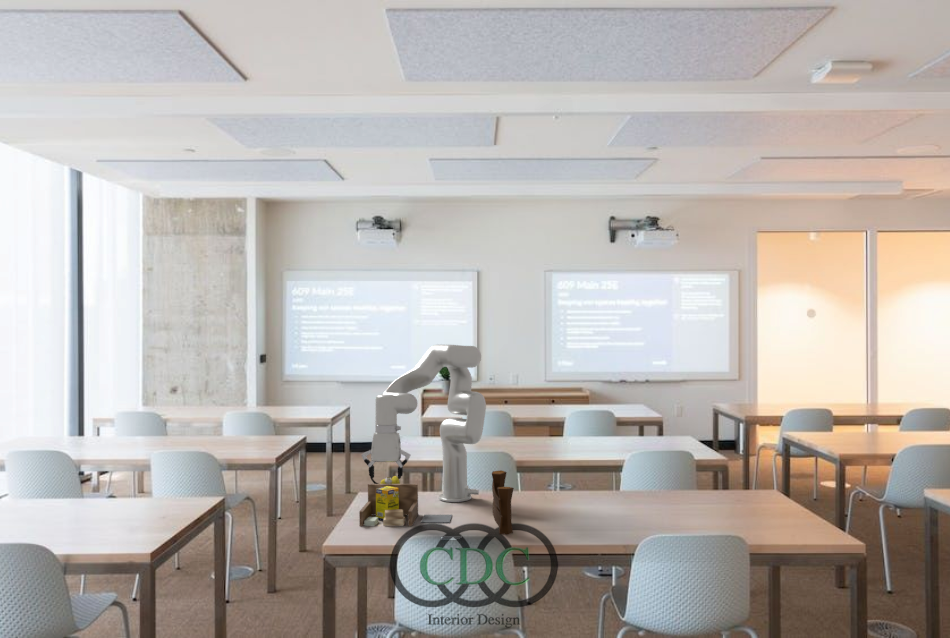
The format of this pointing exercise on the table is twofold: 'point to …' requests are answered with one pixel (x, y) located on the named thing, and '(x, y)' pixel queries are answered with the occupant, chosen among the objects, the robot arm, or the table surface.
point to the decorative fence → (502, 502)
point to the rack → (406, 501)
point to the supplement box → (386, 500)
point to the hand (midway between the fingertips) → (385, 478)
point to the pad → (436, 519)
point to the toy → (388, 480)
